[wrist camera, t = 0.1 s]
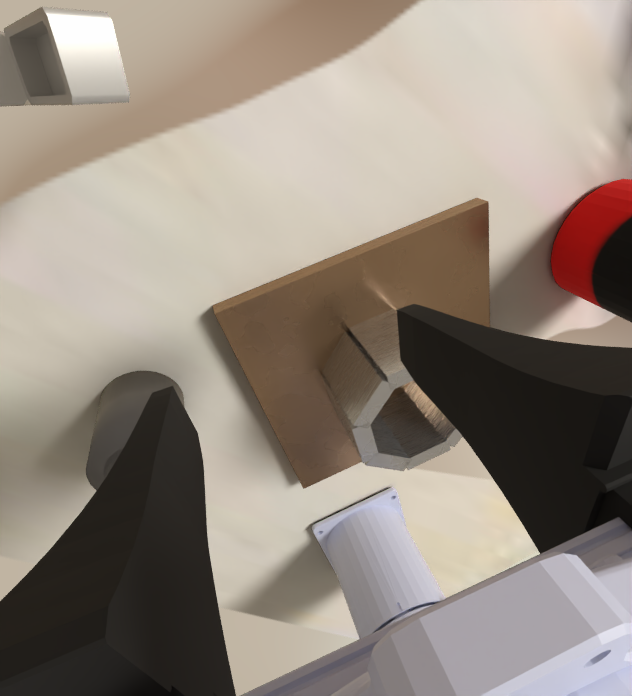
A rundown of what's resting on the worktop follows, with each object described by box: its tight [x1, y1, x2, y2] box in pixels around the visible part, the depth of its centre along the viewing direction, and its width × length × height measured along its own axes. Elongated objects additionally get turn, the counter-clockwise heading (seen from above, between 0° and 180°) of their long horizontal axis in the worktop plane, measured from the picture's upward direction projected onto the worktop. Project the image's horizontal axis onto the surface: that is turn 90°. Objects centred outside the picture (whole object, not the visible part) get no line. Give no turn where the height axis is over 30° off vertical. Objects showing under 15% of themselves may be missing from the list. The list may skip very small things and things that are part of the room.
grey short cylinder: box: [86, 371, 184, 490], centre depth 21 cm, size 4×4×5 cm
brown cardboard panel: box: [213, 198, 490, 489], centre depth 24 cm, size 16×16×6 cm
